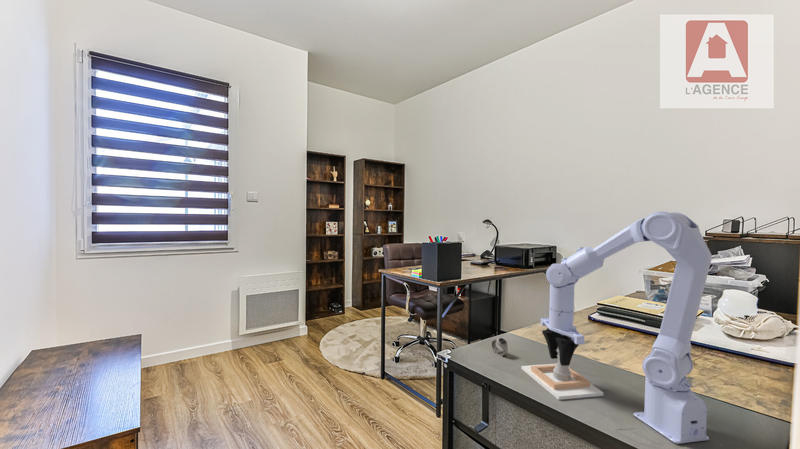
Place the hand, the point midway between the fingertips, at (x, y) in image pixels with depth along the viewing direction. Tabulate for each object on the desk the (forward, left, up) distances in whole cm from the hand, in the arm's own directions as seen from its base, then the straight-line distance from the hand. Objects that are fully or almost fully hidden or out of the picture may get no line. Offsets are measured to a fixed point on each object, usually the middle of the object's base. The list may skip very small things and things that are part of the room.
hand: (559, 361), depth 86 cm
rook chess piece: (0, -1, -5) cm, 5 cm away
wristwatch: (+19, +7, -6) cm, 21 cm away
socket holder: (0, 0, -5) cm, 5 cm away
